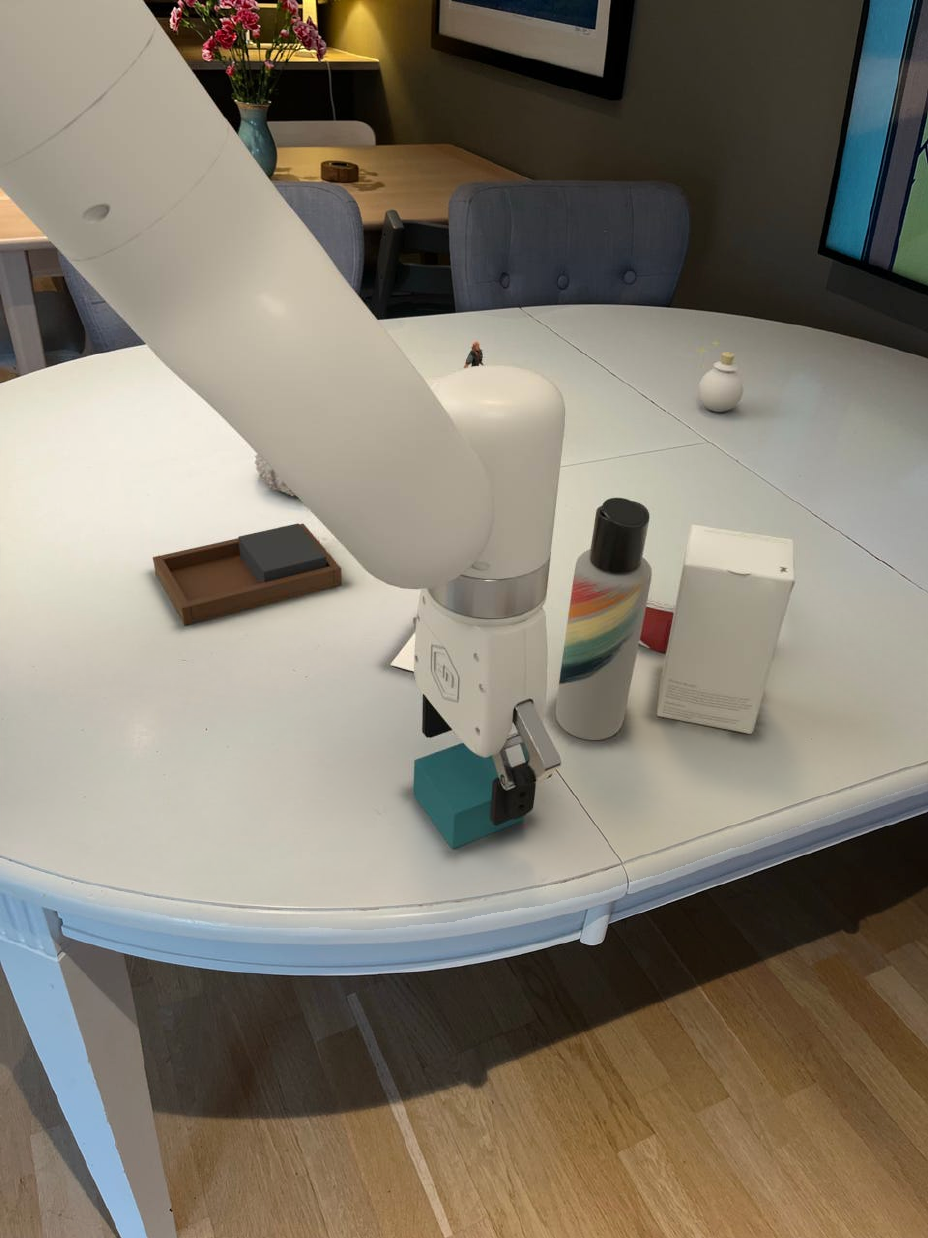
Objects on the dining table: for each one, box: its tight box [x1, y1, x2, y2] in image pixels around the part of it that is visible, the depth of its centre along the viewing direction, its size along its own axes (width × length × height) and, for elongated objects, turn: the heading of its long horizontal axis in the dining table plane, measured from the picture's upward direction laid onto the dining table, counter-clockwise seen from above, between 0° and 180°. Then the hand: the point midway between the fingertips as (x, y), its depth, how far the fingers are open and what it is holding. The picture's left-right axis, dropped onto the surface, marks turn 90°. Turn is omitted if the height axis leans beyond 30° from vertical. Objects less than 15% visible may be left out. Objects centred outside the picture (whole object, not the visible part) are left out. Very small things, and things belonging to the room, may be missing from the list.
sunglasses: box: [639, 598, 675, 653], centre depth 93 cm, size 17×17×5 cm
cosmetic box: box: [656, 524, 796, 735], centre depth 77 cm, size 8×7×16 cm
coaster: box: [390, 632, 415, 672], centre depth 86 cm, size 8×8×1 cm
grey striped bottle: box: [555, 497, 653, 741], centre depth 74 cm, size 6×6×20 cm
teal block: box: [412, 742, 525, 850], centre depth 70 cm, size 6×6×4 cm
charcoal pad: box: [237, 522, 327, 584], centre depth 94 cm, size 6×7×2 cm
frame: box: [152, 523, 342, 626], centre depth 93 cm, size 16×10×2 cm, turn 120°
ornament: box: [695, 338, 744, 413], centre depth 132 cm, size 6×7×10 cm
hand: (475, 771), depth 69 cm, fingers open, 9 cm apart
